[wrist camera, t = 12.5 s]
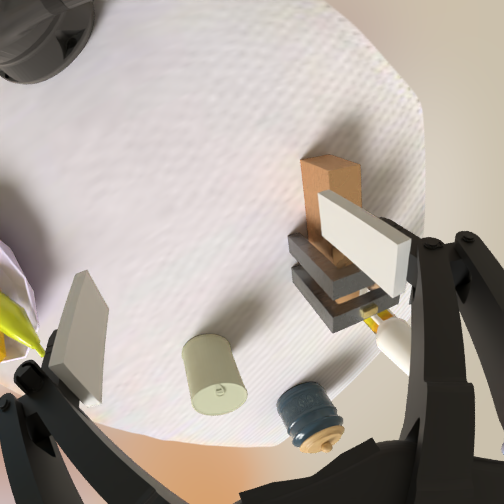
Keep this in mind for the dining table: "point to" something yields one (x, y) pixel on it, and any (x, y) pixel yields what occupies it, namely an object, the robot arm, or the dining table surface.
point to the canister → (310, 418)
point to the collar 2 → (345, 312)
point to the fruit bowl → (16, 310)
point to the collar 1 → (327, 269)
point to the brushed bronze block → (339, 181)
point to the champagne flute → (394, 339)
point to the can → (212, 375)
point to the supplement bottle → (383, 315)
